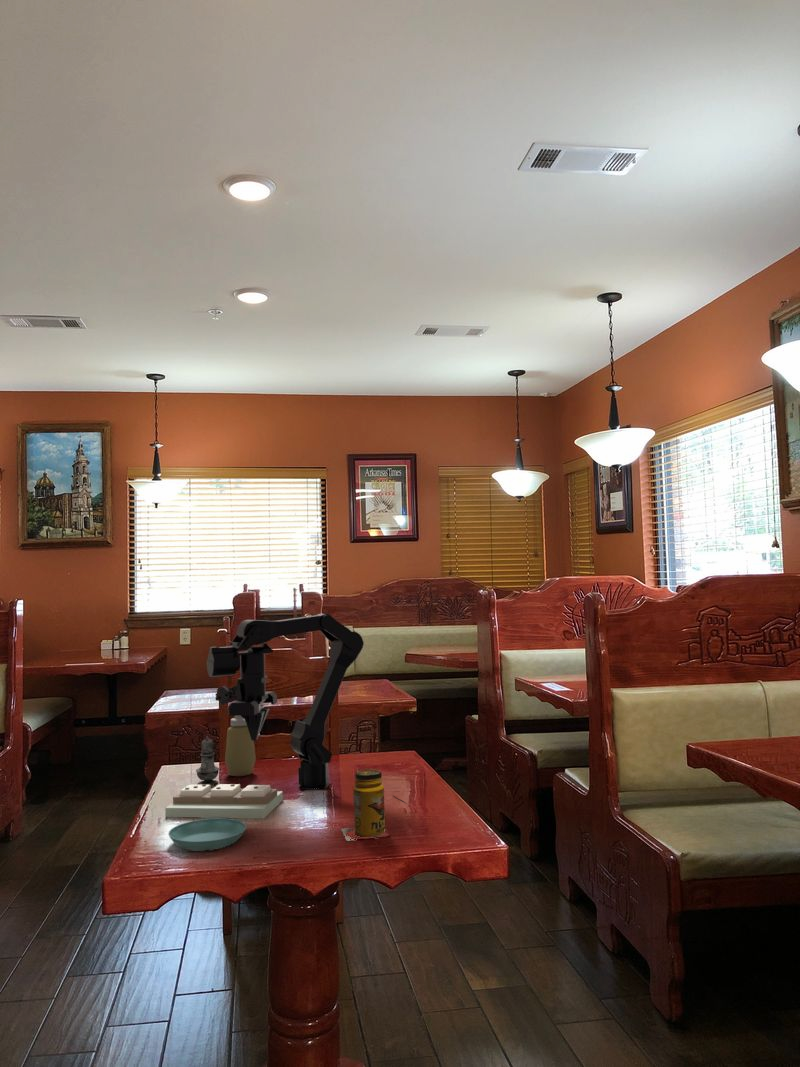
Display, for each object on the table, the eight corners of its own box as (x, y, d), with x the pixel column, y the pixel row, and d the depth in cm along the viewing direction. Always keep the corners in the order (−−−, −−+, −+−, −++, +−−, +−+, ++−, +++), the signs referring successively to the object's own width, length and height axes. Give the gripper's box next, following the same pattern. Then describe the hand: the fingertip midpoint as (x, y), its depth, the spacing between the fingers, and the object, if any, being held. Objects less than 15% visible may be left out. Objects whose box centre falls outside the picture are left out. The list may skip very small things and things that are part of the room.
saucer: (229, 857, 147) (229, 842, 147) (154, 854, 150) (154, 840, 150) (257, 831, 162) (257, 818, 162) (188, 830, 164) (188, 816, 165)
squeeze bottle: (253, 777, 206) (251, 706, 207) (221, 778, 206) (220, 707, 207) (258, 770, 214) (257, 701, 215) (228, 770, 214) (227, 702, 215)
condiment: (390, 837, 155) (388, 774, 156) (347, 842, 153) (345, 778, 154) (382, 826, 162) (380, 766, 163) (341, 830, 160) (339, 769, 161)
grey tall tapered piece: (213, 787, 197) (213, 737, 198) (191, 786, 198) (190, 737, 199) (223, 781, 203) (223, 733, 204) (202, 780, 204) (201, 733, 205)
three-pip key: (210, 795, 181) (210, 783, 182) (202, 802, 177) (201, 789, 177) (189, 795, 182) (189, 783, 182) (180, 801, 177) (180, 789, 177)
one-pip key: (270, 796, 180) (270, 784, 180) (263, 802, 175) (263, 790, 175) (248, 796, 180) (248, 784, 180) (241, 802, 175) (241, 789, 175)
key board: (282, 800, 184) (282, 785, 184) (264, 818, 170) (263, 802, 170) (191, 799, 187) (191, 784, 187) (165, 817, 173) (165, 801, 173)
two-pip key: (240, 795, 180) (240, 783, 181) (232, 801, 176) (232, 789, 176) (219, 795, 181) (218, 783, 181) (210, 801, 176) (210, 789, 176)
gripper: (233, 669, 200) (234, 732, 199) (205, 678, 181) (206, 748, 180) (277, 668, 198) (278, 732, 197) (252, 678, 180) (254, 748, 179)
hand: (254, 740), depth 188 cm, fingers closed
